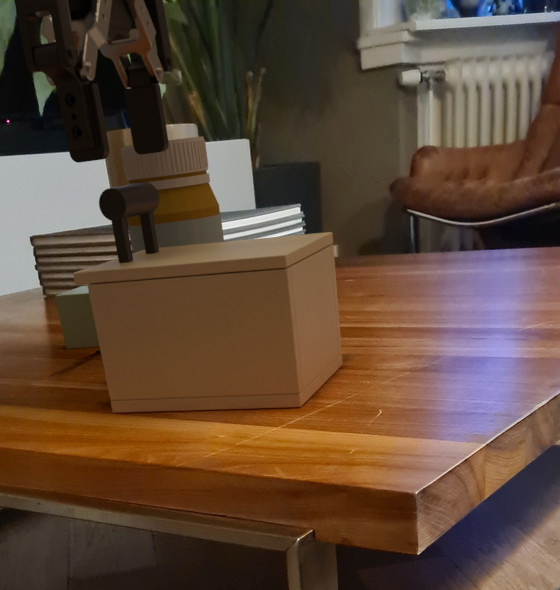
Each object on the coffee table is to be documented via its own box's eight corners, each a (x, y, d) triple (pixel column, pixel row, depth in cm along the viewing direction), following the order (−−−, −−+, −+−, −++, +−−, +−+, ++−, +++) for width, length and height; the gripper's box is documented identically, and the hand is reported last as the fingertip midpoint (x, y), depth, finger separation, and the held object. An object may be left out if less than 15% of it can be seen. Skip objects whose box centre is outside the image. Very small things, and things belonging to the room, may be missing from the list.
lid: (74, 285, 55) (56, 195, 53) (147, 259, 64) (134, 182, 62) (286, 267, 51) (276, 170, 49) (333, 243, 60) (327, 159, 57)
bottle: (253, 345, 73) (227, 133, 66) (176, 364, 69) (140, 143, 63) (210, 337, 78) (181, 140, 71) (136, 355, 75) (99, 149, 68)
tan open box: (112, 413, 58) (86, 285, 55) (176, 372, 67) (158, 259, 64) (300, 407, 54) (287, 268, 51) (343, 364, 63) (333, 244, 60)
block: (66, 353, 79) (54, 295, 77) (92, 341, 83) (81, 286, 81) (116, 351, 77) (105, 291, 75) (140, 338, 81) (130, 282, 79)
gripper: (67, -140, 55) (120, 158, 63) (-79, -205, 44) (7, 171, 51) (180, -169, 53) (221, 144, 61) (59, -246, 41) (128, 155, 49)
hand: (123, 156), depth 56 cm, fingers open, 8 cm apart
